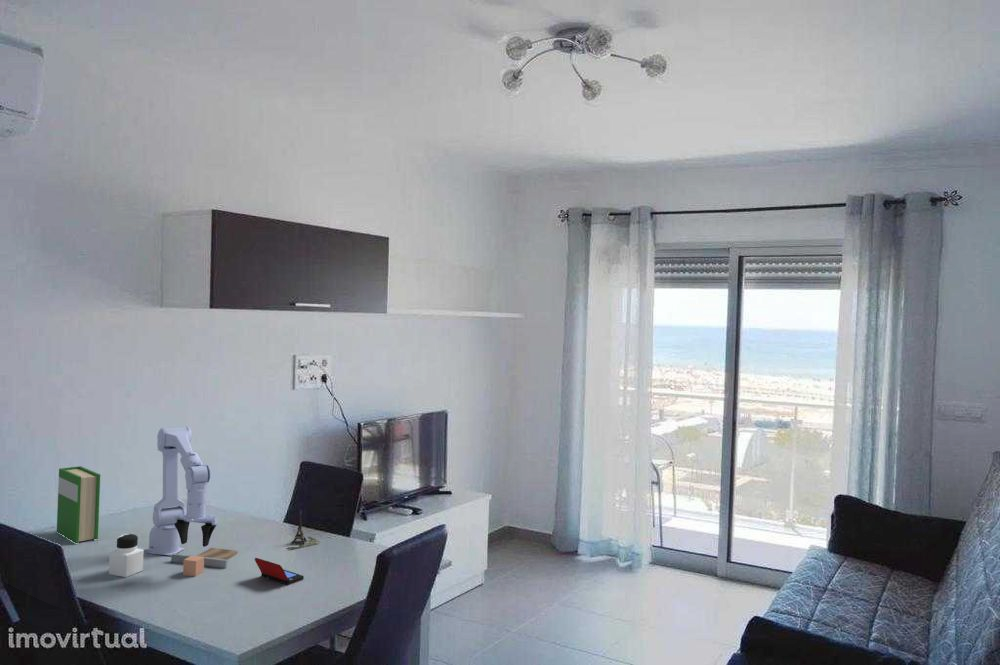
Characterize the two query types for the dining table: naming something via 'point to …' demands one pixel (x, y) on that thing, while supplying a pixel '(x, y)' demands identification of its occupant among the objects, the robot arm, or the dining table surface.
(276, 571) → the handheld game console
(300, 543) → the eiffel tower figurine
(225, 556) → the walnut pad
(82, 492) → the hardback book
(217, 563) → the low wall
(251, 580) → the dining table surface
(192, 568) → the terracotta block
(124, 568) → the medicine bottle
